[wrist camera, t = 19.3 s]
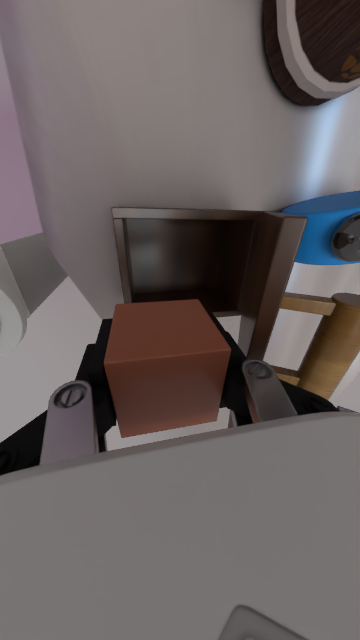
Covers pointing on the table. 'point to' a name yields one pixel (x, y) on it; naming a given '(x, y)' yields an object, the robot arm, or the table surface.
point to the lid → (269, 295)
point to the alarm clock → (329, 229)
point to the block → (165, 366)
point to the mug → (313, 47)
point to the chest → (186, 255)
